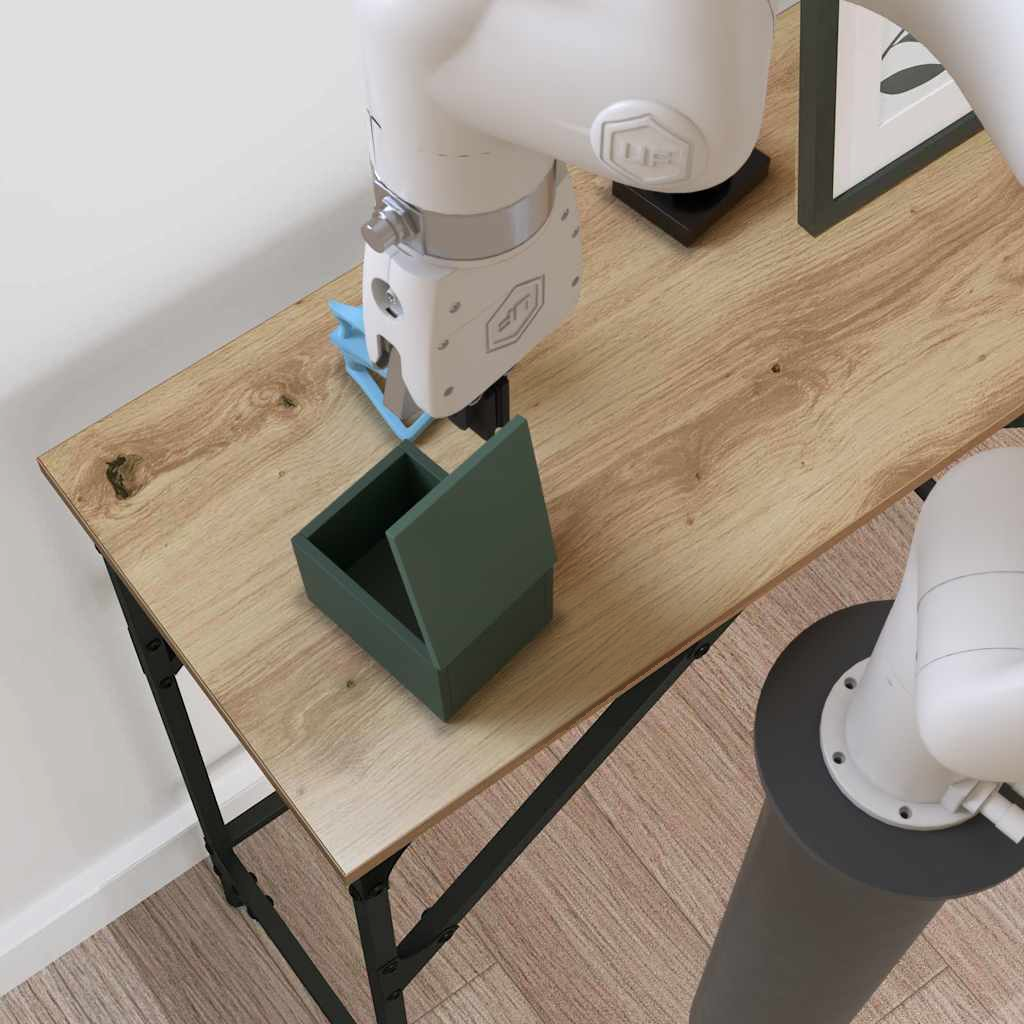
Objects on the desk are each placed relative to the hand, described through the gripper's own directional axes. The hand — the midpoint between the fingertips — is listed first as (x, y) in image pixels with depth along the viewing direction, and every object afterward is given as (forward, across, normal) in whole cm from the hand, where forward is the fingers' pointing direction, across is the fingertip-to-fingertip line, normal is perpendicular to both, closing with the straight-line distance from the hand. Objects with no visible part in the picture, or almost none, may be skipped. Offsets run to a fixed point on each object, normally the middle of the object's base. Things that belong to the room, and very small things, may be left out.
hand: (476, 415), depth 82 cm
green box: (+32, 0, +6) cm, 33 cm away
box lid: (+16, 0, +1) cm, 16 cm away
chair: (+32, +12, +21) cm, 40 cm away
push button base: (+32, +41, +18) cm, 55 cm away
